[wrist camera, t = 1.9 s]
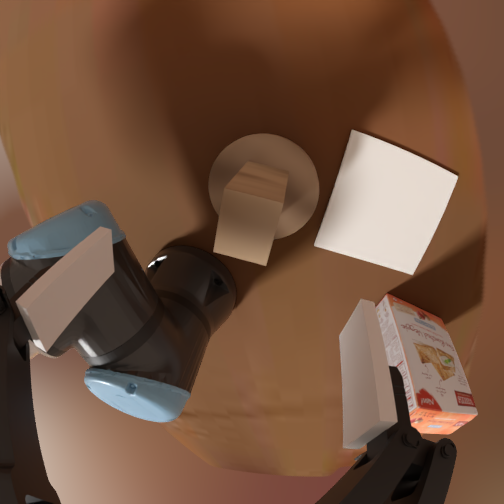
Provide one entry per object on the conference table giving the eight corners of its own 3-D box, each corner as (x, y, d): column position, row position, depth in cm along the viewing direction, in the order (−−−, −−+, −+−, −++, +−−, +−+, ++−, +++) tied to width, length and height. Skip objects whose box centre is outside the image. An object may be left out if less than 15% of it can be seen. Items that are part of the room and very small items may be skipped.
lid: (301, 246, 31) (299, 307, 22) (205, 220, 31) (168, 271, 22) (331, 150, 25) (349, 175, 16) (221, 123, 25) (180, 134, 17)
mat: (411, 273, 37) (412, 274, 36) (313, 244, 37) (314, 245, 37) (456, 175, 29) (458, 176, 28) (351, 129, 29) (352, 129, 29)
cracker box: (442, 315, 40) (480, 415, 22) (421, 338, 43) (448, 436, 25) (387, 289, 39) (421, 409, 21) (365, 316, 42) (383, 433, 24)
